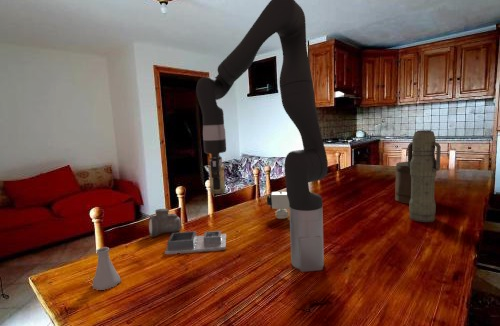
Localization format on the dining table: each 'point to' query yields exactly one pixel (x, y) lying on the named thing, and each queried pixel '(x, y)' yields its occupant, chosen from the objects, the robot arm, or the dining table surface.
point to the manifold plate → (195, 242)
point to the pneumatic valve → (279, 203)
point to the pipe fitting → (163, 222)
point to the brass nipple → (222, 182)
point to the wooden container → (403, 183)
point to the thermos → (423, 175)
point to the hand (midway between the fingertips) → (217, 187)
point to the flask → (105, 271)
